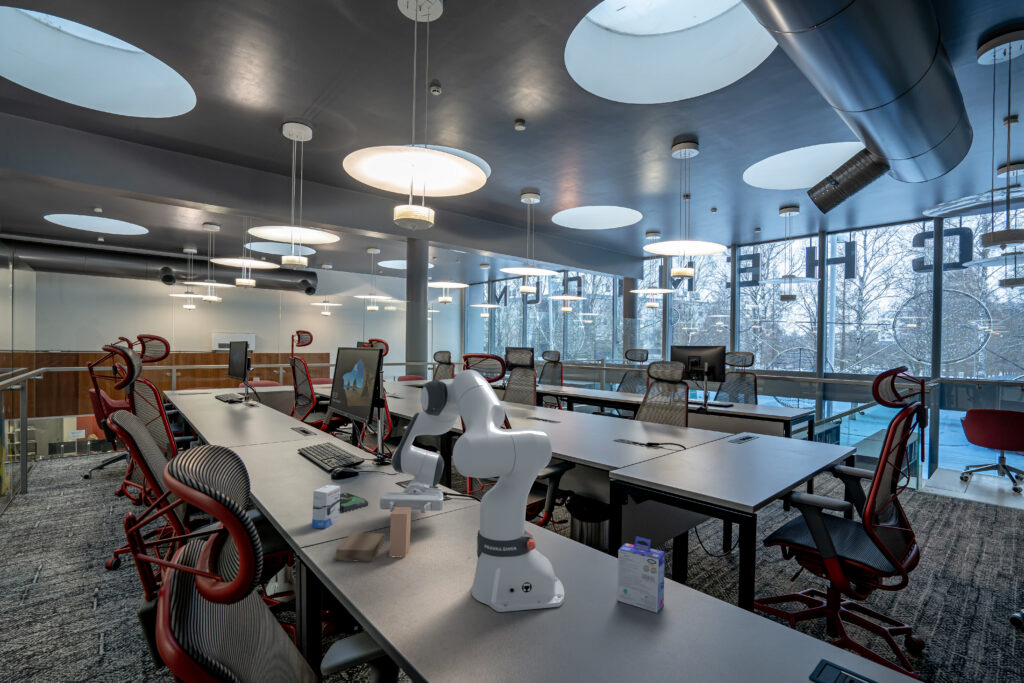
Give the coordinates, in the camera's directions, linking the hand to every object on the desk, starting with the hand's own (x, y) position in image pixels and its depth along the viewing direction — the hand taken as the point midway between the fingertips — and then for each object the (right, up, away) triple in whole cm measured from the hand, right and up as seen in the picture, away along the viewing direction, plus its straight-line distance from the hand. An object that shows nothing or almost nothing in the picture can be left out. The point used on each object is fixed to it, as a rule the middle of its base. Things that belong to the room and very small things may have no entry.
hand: (407, 509), depth 145 cm
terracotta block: (0, -8, -11) cm, 13 cm away
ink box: (-29, -9, +10) cm, 32 cm away
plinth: (-11, -8, -11) cm, 17 cm away
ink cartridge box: (+62, -10, -35) cm, 72 cm away
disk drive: (-30, -10, +30) cm, 43 cm away
